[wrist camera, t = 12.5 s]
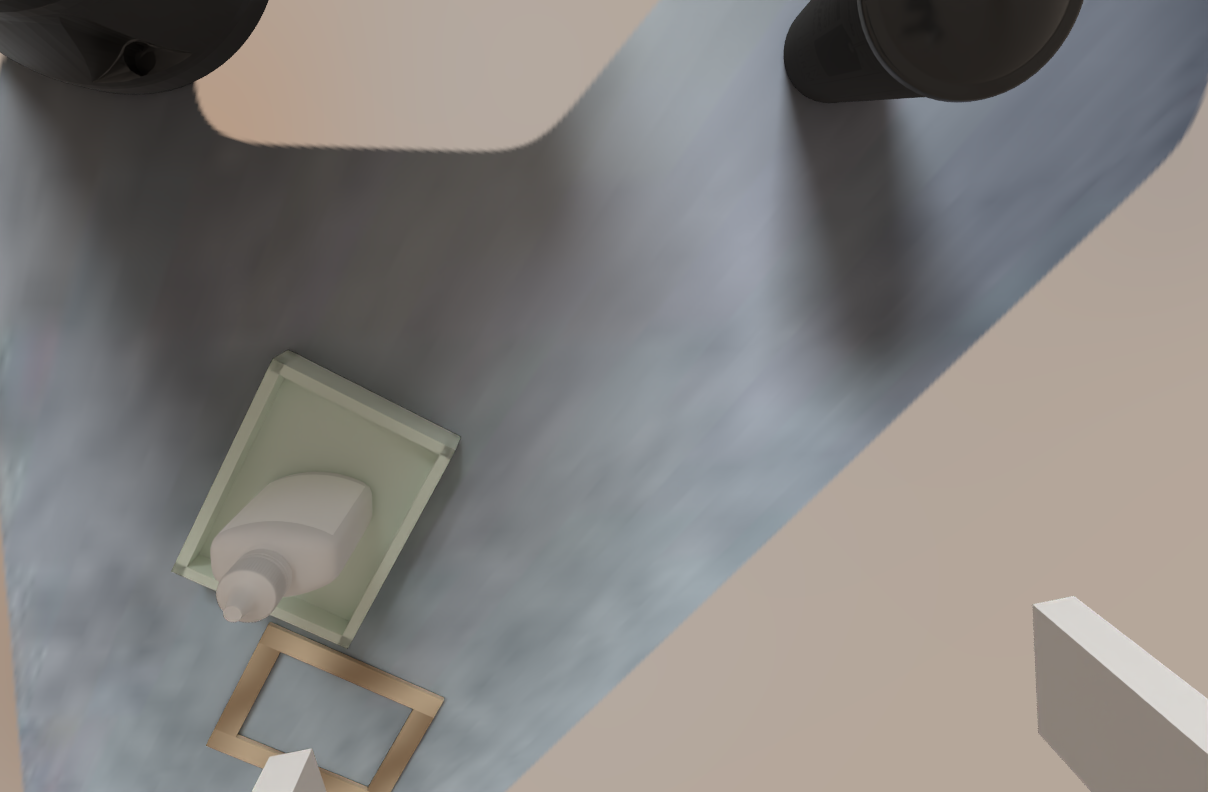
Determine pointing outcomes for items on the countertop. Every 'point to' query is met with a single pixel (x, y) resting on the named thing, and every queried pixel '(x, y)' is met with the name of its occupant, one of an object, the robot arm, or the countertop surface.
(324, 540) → the eye dropper bottle
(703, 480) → the countertop surface
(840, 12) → the drinking cup
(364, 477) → the tray
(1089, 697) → the robot arm
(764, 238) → the countertop surface
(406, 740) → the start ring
